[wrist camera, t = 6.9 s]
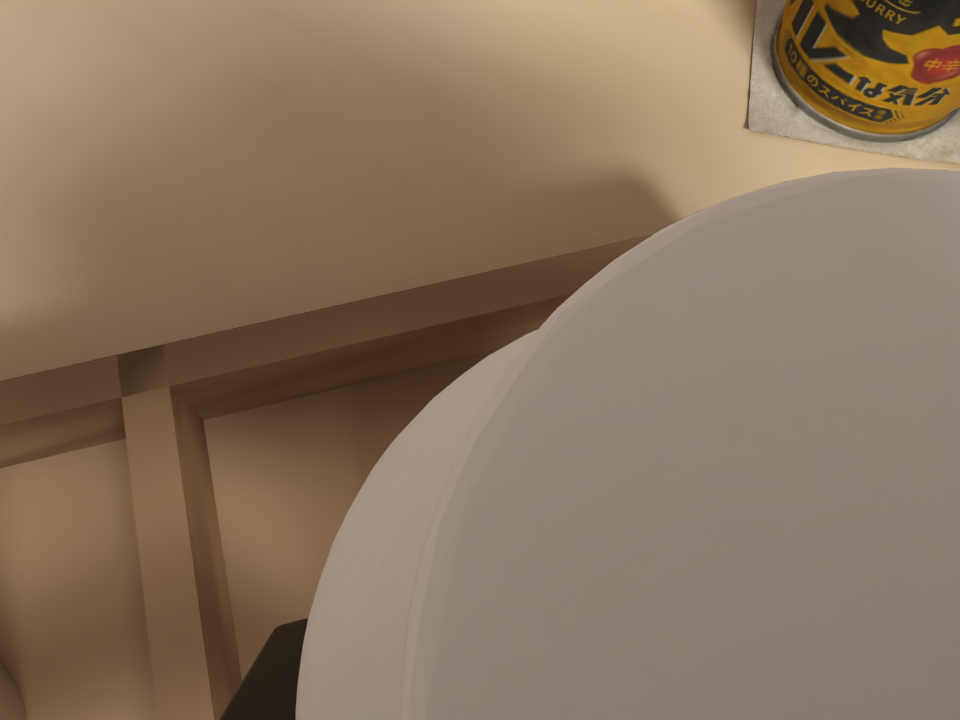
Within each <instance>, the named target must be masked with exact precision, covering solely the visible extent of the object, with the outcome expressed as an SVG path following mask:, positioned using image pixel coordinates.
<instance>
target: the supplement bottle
mask: <svg viewBox="0 0 960 720" xmlns="http://www.w3.org/2000/svg"><path fill="white" fill-rule="evenodd" d="M296 720H960V171H947V170H929V169H906V168H887V169H873V170H859V171H845V172H833V173H827V174H822V175H817V176H812V177H807V178H801V179H796V180H791V181H786V182H782V183H779V184H775V185H772V186H769V187H766V188H763V189H759V190H756V191H753V192H750V193H747V194H744V195H741V196H737V197H734V198H731V199H729V200H726V201H724V202H721V203H719V204H716V205H714V206H711V207H709V208H706V209H704V210H701V211H699V212H696V213H694V214H692V215H690V216H688V217H686V218H684V219H682V220H680V221H678V222H675V223H673V224H671V225H669V226H667V227H665V228H663V229H661V230H660V231H658V232H657V233H655V234H654V235H652V236H651V237H649V238H647V239H646V240H644V241H643V242H641V243H640V244H638V245H637V246H635V247H633V248H632V249H630V250H629V251H627V252H626V253H624V254H623V255H621V256H619V257H618V258H616V259H615V260H613V261H612V262H611V263H610V264H609V265H607V266H606V267H605V268H604V269H602V270H601V271H600V272H599V273H597V274H596V275H595V276H594V277H593V278H591V279H590V280H589V281H588V282H586V283H585V284H584V285H583V286H582V287H580V288H579V289H578V290H577V291H576V292H575V293H574V294H573V295H571V296H570V297H569V298H568V299H567V300H566V301H565V302H563V303H562V304H561V305H560V306H559V307H558V308H557V309H556V310H555V311H554V312H553V313H552V315H551V316H550V317H549V318H548V319H547V320H546V321H545V322H544V323H543V324H542V326H541V327H540V328H539V329H538V330H535V331H533V332H531V333H528V334H526V335H524V336H523V337H521V338H519V339H517V340H515V341H514V342H512V343H510V344H508V345H507V346H505V347H503V348H501V349H499V350H498V351H496V352H494V353H492V354H491V355H489V356H487V357H486V358H484V359H483V360H482V361H480V362H479V363H477V364H476V365H475V366H473V367H472V368H470V369H469V370H468V371H466V372H465V373H463V374H462V375H461V376H460V377H459V378H457V379H456V380H455V381H454V382H452V383H451V384H450V385H449V386H448V387H446V388H445V389H444V390H443V391H442V392H440V393H439V394H438V395H437V396H435V397H434V398H433V399H432V400H431V401H430V402H429V403H428V404H427V405H426V406H425V407H424V409H423V410H422V411H421V412H420V413H419V414H418V415H417V416H416V417H415V418H414V419H413V420H412V421H411V422H410V423H409V424H408V425H407V427H406V428H405V429H404V430H403V431H402V432H401V433H400V434H399V435H398V436H397V437H396V438H395V440H394V441H393V442H392V443H391V444H390V446H389V447H388V448H387V450H386V451H385V452H384V454H383V455H382V457H381V458H380V459H379V461H378V462H377V463H376V465H375V466H374V467H373V469H372V470H371V472H370V474H369V476H368V477H367V479H366V481H365V482H364V484H363V486H362V488H361V489H360V491H359V493H358V495H357V496H356V498H355V500H354V502H353V503H352V505H351V507H350V509H349V510H348V512H347V514H346V516H345V518H344V521H343V523H342V525H341V527H340V529H339V531H338V533H337V535H336V537H335V539H334V542H333V544H332V546H331V549H330V552H329V555H328V558H327V561H326V563H325V566H324V569H323V572H322V575H321V578H320V581H319V584H318V587H317V590H316V594H315V597H314V601H313V604H312V607H311V611H310V614H309V617H308V622H307V627H306V632H305V637H304V642H303V648H302V655H301V662H300V670H299V677H298V686H297V699H296Z"/></svg>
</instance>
